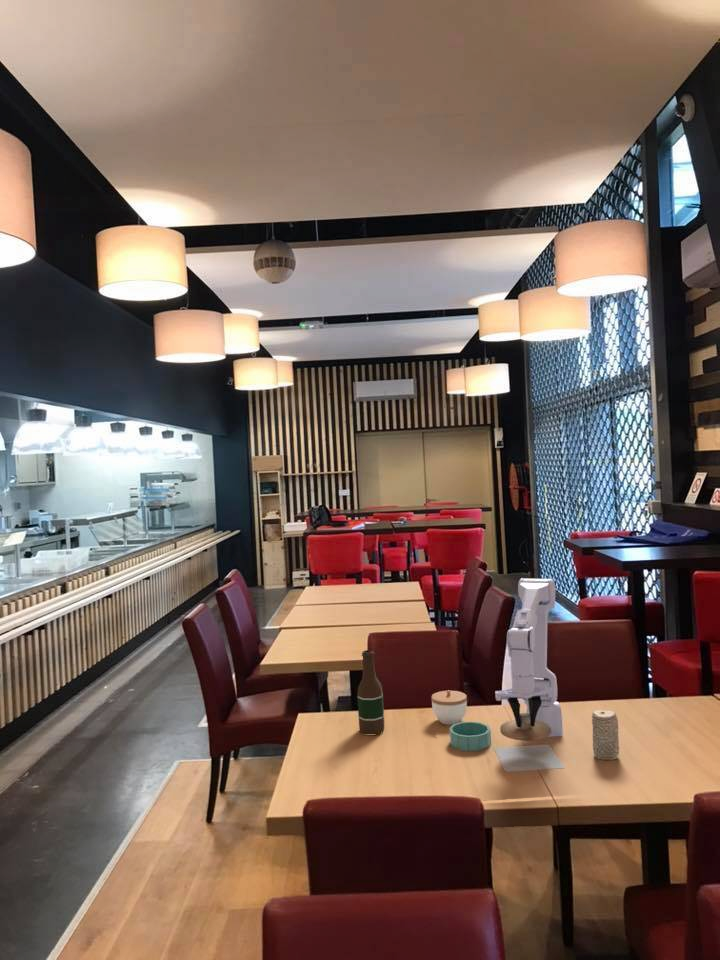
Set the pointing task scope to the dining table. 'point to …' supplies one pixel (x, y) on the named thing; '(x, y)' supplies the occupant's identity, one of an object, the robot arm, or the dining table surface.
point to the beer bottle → (370, 698)
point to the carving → (605, 735)
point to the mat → (528, 758)
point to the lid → (525, 729)
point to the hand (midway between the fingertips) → (525, 725)
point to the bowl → (470, 736)
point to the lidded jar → (449, 706)
